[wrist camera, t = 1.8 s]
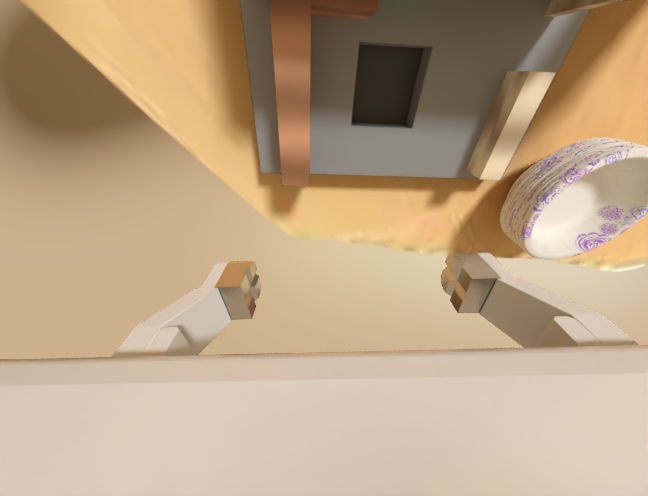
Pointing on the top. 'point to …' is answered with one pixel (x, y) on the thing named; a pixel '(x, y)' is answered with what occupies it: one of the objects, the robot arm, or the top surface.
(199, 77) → the top surface
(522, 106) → the stick
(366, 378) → the robot arm
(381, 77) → the board
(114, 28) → the top surface
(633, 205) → the paper bowls
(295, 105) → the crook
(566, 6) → the shelf
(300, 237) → the top surface
